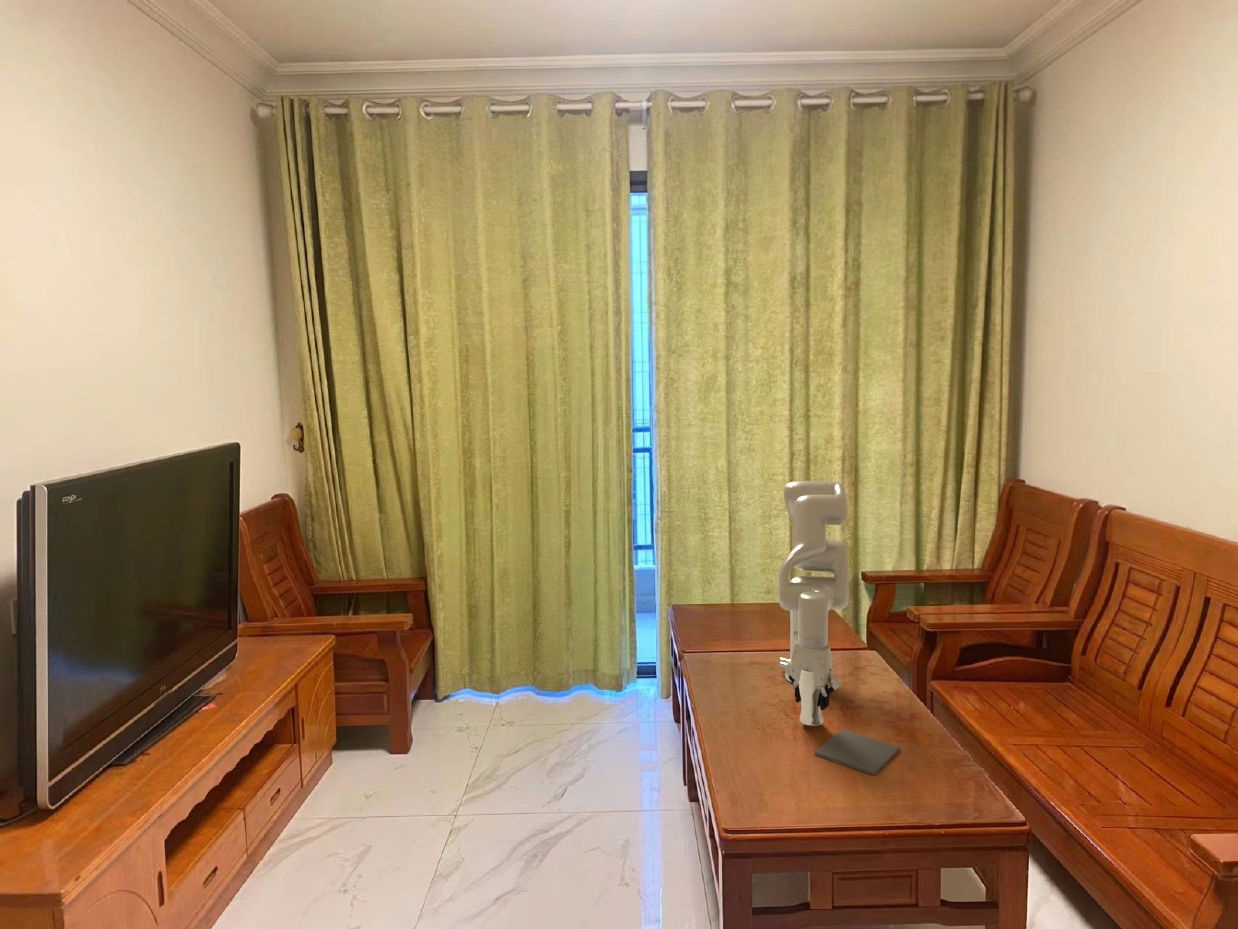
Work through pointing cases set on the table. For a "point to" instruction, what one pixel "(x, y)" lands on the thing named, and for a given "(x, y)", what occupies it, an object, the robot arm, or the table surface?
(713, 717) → the table surface
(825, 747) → the charcoal mat
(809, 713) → the beer glass
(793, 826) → the table surface
